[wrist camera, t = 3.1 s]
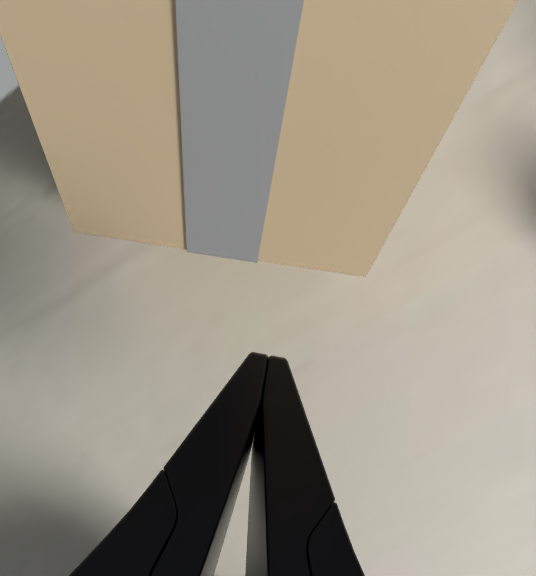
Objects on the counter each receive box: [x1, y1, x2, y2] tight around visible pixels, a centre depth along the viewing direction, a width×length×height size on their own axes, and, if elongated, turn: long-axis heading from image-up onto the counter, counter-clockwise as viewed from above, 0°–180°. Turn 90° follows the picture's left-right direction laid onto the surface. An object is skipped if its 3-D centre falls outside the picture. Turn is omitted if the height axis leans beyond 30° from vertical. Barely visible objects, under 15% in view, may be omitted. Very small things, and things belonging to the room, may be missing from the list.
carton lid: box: [0, 0, 518, 277], centre depth 10 cm, size 10×10×1 cm
